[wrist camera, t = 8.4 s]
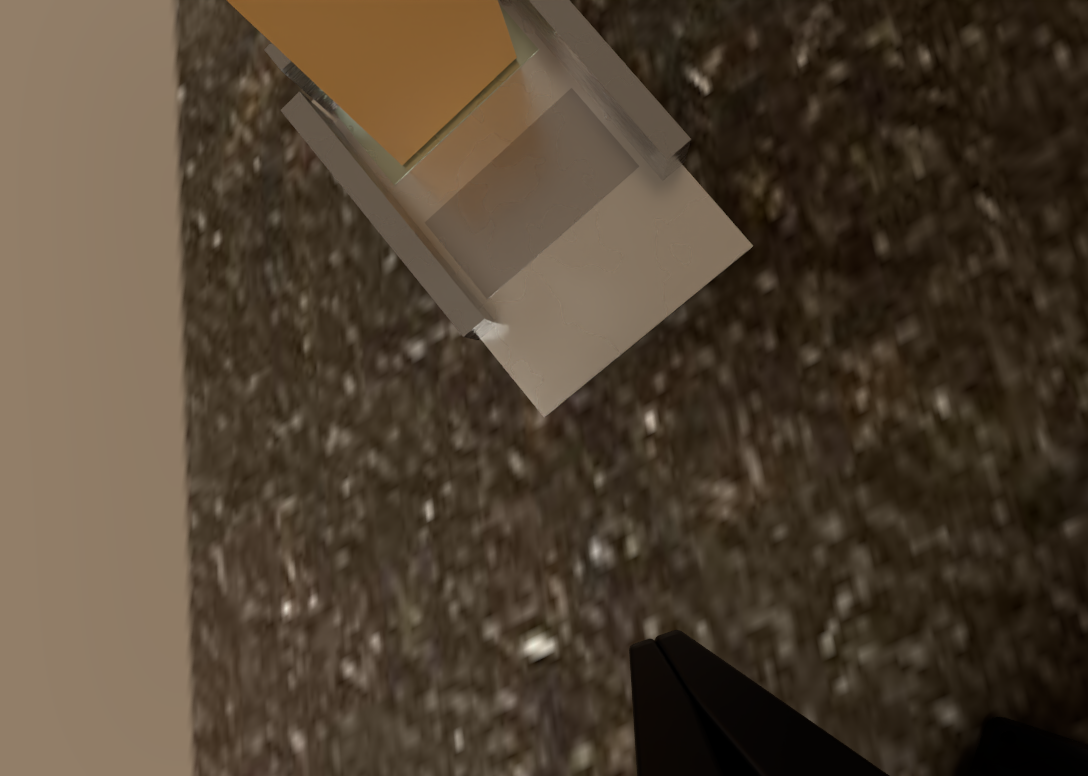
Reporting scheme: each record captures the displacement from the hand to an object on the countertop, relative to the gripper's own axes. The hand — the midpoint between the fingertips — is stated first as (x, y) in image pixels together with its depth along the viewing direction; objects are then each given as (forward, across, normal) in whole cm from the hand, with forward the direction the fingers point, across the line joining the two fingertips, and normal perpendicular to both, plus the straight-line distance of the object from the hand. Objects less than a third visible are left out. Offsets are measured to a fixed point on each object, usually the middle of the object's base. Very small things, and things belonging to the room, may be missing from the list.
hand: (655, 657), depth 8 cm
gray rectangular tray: (+16, -2, -8) cm, 18 cm away
